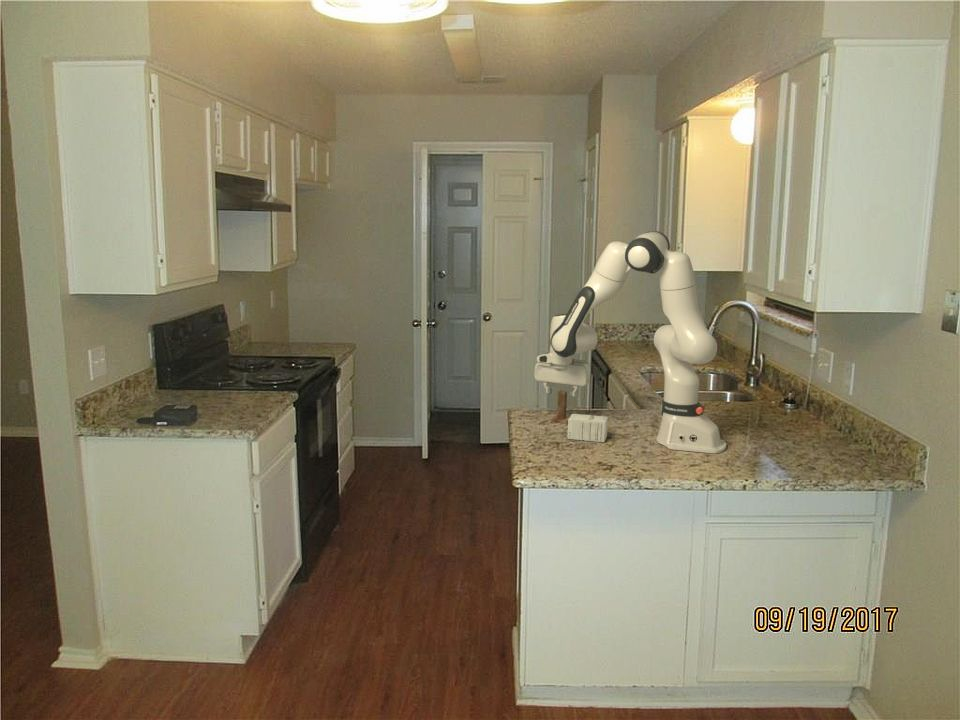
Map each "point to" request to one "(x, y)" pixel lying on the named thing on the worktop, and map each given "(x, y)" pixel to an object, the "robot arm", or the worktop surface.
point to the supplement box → (587, 427)
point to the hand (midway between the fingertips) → (560, 395)
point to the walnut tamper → (561, 409)
